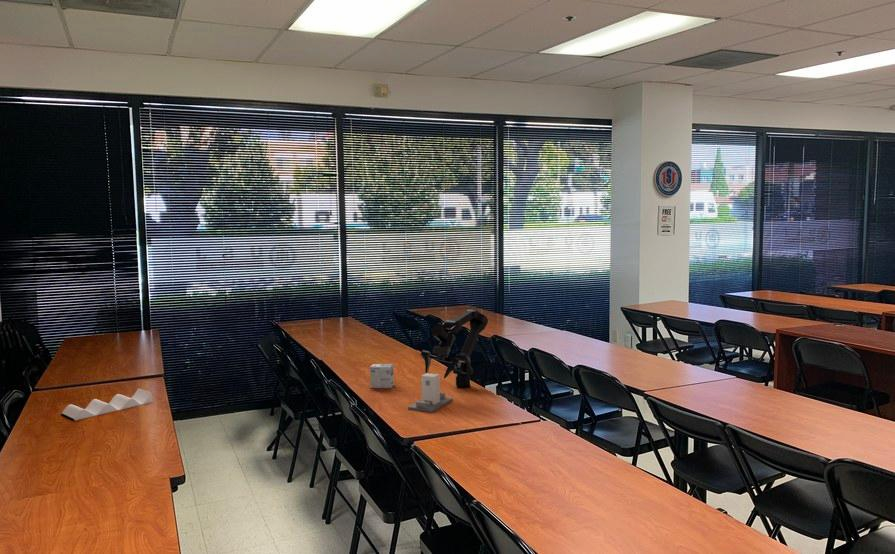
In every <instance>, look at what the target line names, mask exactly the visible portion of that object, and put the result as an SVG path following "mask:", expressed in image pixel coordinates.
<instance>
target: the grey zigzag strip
mask: <svg viewBox="0 0 895 554" xmlns="http://www.w3.org/2000/svg"><path fill="white" fill-rule="evenodd" d="M151 403H153V393H152V392H151V391H148V390H145V389H142V388H137V390H136V391H135V392H134V393H133V395H132V396H131V397H129V396H127V395H123V394H120V393H117V394H115V395H114V396H113V397H112V399H111V400H110V401H109V403H108V402H105V401H102V400H100V399H97V398H94V399H91V401H90V402H89V403H88V405H87V406H86V407H85V408H82V407H80V406H77V405H74V404H71V403H70V404H68V405H67V406H66V407H65V408H64V409H63V411H62V412H61V414H60V416H61V417H64V418H66V419H67V420H69V421H71V422H72V421H73V422H76V421H78V420H83V419H86V418H87V419H88V418H91V417H95V416H101V415H103V414H108V413H112V412H116V411H121V410H126V409H129V408H133V407H138V406H143V405H146V404H151Z"/></svg>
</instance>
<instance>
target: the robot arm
mask: <svg viewBox="0 0 895 554" xmlns="http://www.w3.org/2000/svg"><path fill="white" fill-rule="evenodd" d="M468 322H469V326H470V327H469V328H470V329H469V332H468V334H467V337H466V339H465V341H464V345H463V347H462V349H461V351H460V353H459V354H455V355H454V356H451V357H450V358H449V355H450V353H451V351H452V350H451V348H452V346H453V343H454V341H457V337H456V335H455V334H458V333H459V331H461V330H462V326H464V325H466V324H468ZM488 323H489V319H488V317H487V315H485V314H483V313H481V312H479V310H476V309H472V308H470V309H467V310H465V311H464V312H462V313H461V314H458V316H457V317H454V318H449V319H446V320H445V321H444V322H443V323H442V322H441V323H440V322H437V325H435V326H433V327H432V329H431V332H430V333H431V335H432V336H433V337H434V338H435V339H437V340H438V341H439V343H438V344H437V345H435V346H433V349H432V352H431V351H428V350H425V349H422V351H421V352H420V355H419V356H420V357H421V359H422V360H424V362H425V364H424V365H425V367H424V368H425V369H424V370H425V371H424V374H426V373H429V370H430V366H431V364H432V363H431V362H432V361H431V360H435V361H436V360H437V361H440V362H445V363H448V364H447V368H446V370H445V373H444V374H443V375H444V376H443V379H446V378H447V377H448V376H449V375H450V374H451V372H453V374H455V375H456V376H455V386H456V387H457V388H459V389H462V388H463V389H464V388H471V376H472V375H473V374H474V368H473V367H472V363H471V355H472V353H473V350H474V348H475V346H476V343H477V340H478V338H479V336H480V334H481V332H483V331H484V330H485V329H486V327H487V325H488ZM452 333H453V334H452Z"/></svg>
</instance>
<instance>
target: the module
mask: <svg viewBox="0 0 895 554" xmlns="http://www.w3.org/2000/svg"><path fill="white" fill-rule="evenodd" d="M440 375H441V374H439V373H432V372H431V373H429V372H427V373H424V374H422V375H420V377H421V378H420V379H421V380H420V381H421V400H422V402H426V401H432V404H433V405H435V404H437V403H439V402H440V392H441V387H440V385H441V383H440V379H441V378H440V377H441V376H440Z"/></svg>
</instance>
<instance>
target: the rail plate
mask: <svg viewBox="0 0 895 554" xmlns="http://www.w3.org/2000/svg"><path fill="white" fill-rule="evenodd" d="M452 400H454V399H453V398H452V397H446V393H445V392H444V391H443V392H441V391H440V402H439V403H437V404H435V405H433V404H432V401H426V402H422V399H419V400H417V401H416V402H415V403H412V404H411V405H408V407H407V410H413V411H419V412H425V411H426V412H427V413H434V412H436V411H437V410H438V409H441V408H443V407H444V406H445V405H447V404H449V403H452V402H453V401H452ZM435 410H436V411H435Z"/></svg>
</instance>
